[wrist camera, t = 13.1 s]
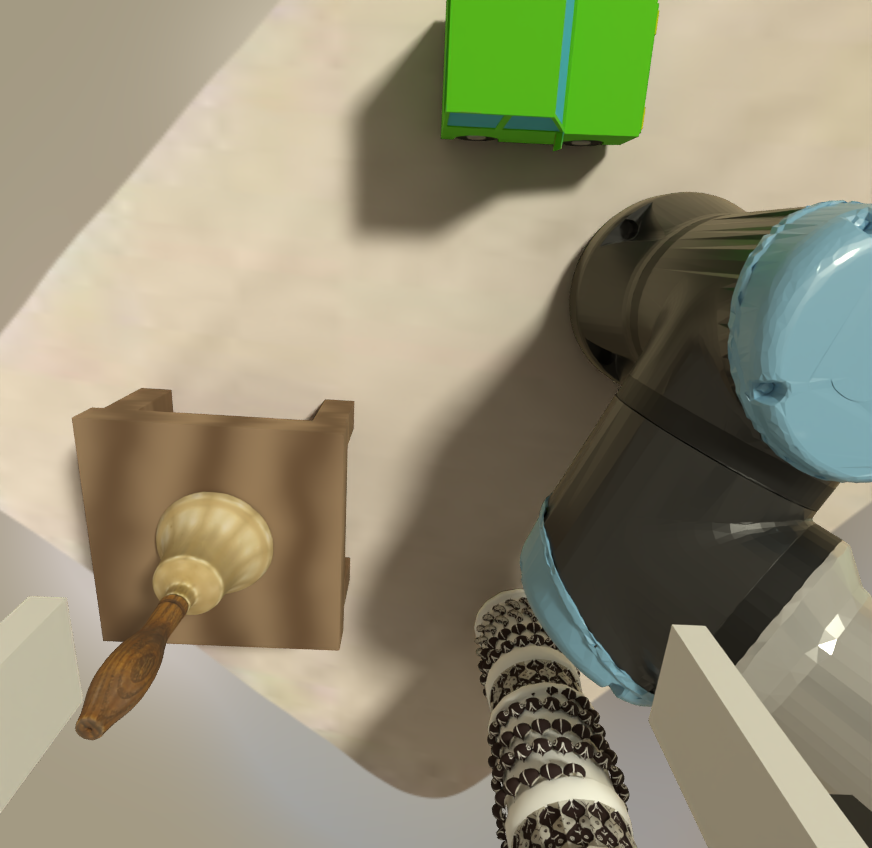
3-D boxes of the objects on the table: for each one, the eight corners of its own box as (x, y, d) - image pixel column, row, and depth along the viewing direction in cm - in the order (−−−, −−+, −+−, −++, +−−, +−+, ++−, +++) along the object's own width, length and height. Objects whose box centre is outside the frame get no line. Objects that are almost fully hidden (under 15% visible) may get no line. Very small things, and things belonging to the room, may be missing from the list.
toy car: (617, 166, 41) (676, 144, 32) (439, 157, 41) (445, 132, 31) (639, 3, 38) (711, -76, 29) (446, -9, 38) (454, -93, 28)
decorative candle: (455, 649, 55) (481, 964, 31) (492, 573, 52) (551, 853, 28) (539, 674, 56) (626, 995, 32) (579, 601, 53) (706, 893, 29)
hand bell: (252, 606, 42) (158, 814, 27) (144, 568, 41) (-21, 764, 25) (290, 516, 40) (209, 688, 24) (175, 473, 38) (16, 626, 23)
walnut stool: (357, 397, 46) (343, 433, 38) (352, 582, 52) (339, 650, 43) (137, 384, 45) (71, 417, 37) (156, 573, 51) (103, 640, 43)
